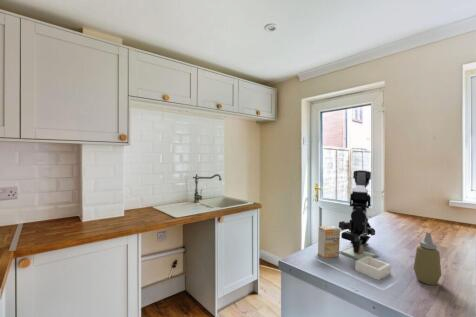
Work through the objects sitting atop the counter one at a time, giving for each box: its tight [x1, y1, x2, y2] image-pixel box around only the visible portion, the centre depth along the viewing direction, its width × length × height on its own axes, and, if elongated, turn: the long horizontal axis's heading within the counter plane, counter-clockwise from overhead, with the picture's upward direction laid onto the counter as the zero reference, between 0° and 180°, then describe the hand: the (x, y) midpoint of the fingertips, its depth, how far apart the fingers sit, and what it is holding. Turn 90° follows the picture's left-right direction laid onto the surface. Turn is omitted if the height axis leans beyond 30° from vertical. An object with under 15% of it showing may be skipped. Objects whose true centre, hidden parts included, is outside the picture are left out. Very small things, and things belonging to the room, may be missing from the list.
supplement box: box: [317, 225, 341, 259], centre depth 109 cm, size 8×5×13 cm, turn 105°
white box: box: [354, 256, 392, 281], centre depth 94 cm, size 9×9×4 cm
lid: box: [341, 244, 376, 260], centre depth 110 cm, size 10×10×5 cm
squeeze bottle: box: [413, 231, 442, 286], centre depth 88 cm, size 8×8×18 cm
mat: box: [339, 246, 380, 261], centre depth 110 cm, size 13×13×1 cm
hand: (358, 251), depth 110 cm, fingers open, 3 cm apart
